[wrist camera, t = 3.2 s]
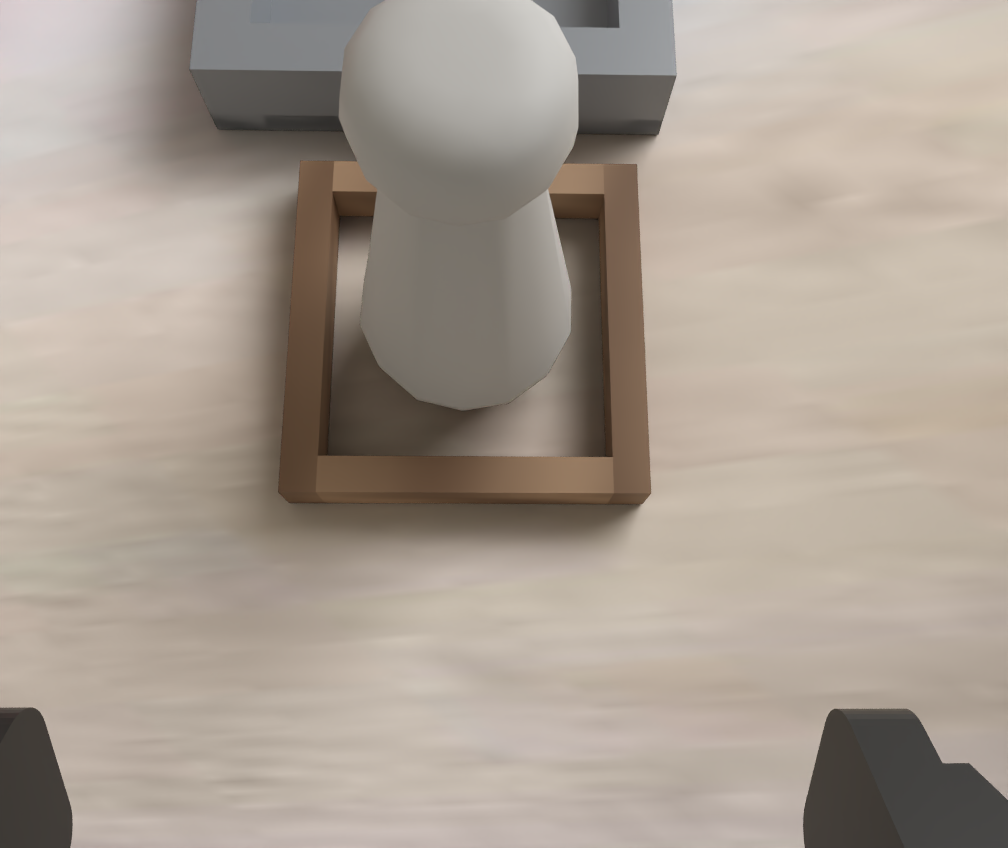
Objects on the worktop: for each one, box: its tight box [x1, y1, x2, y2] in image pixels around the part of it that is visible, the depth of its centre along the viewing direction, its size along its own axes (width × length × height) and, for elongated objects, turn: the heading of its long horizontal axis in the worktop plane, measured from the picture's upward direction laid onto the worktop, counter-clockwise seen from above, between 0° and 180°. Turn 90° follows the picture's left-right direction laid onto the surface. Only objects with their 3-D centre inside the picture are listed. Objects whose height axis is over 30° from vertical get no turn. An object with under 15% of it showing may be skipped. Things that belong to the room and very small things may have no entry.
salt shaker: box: [339, 0, 578, 411], centre depth 22 cm, size 6×6×13 cm
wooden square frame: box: [278, 161, 651, 504], centre depth 28 cm, size 10×10×2 cm
